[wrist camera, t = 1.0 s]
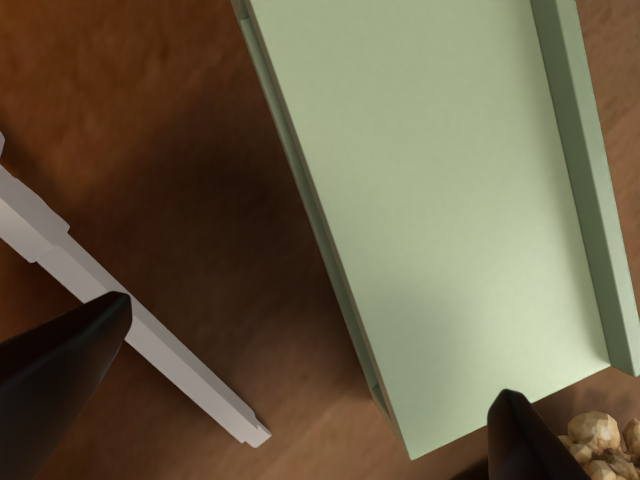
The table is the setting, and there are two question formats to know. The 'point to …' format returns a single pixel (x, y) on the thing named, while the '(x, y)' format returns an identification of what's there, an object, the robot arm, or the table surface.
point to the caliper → (93, 281)
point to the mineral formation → (604, 446)
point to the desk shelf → (452, 197)
